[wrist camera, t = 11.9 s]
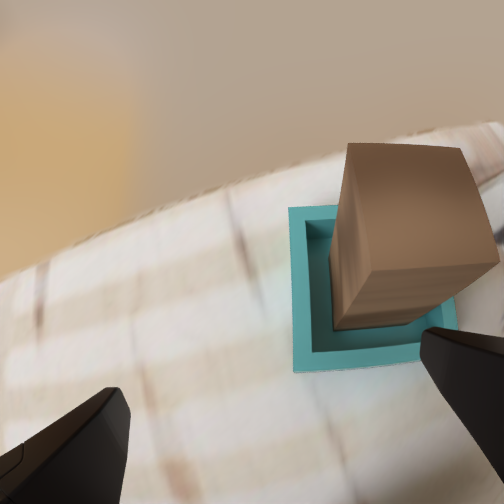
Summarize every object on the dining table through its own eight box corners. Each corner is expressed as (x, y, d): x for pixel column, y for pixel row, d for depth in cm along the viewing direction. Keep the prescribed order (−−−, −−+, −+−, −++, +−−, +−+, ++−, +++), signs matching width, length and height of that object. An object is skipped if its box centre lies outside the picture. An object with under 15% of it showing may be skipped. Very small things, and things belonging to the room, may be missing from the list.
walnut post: (406, 325, 18) (500, 261, 8) (332, 331, 18) (371, 271, 8) (396, 254, 20) (460, 148, 10) (328, 258, 20) (348, 143, 10)
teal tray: (436, 358, 17) (460, 352, 14) (294, 372, 18) (293, 371, 15) (416, 227, 21) (431, 203, 18) (290, 232, 22) (288, 207, 19)
